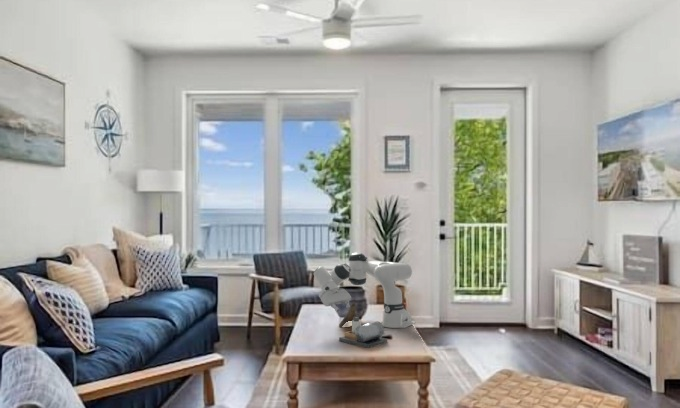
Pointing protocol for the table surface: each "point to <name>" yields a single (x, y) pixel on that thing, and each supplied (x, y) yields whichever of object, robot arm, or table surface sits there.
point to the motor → (366, 335)
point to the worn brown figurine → (349, 314)
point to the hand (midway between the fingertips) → (343, 308)
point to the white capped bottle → (355, 324)
